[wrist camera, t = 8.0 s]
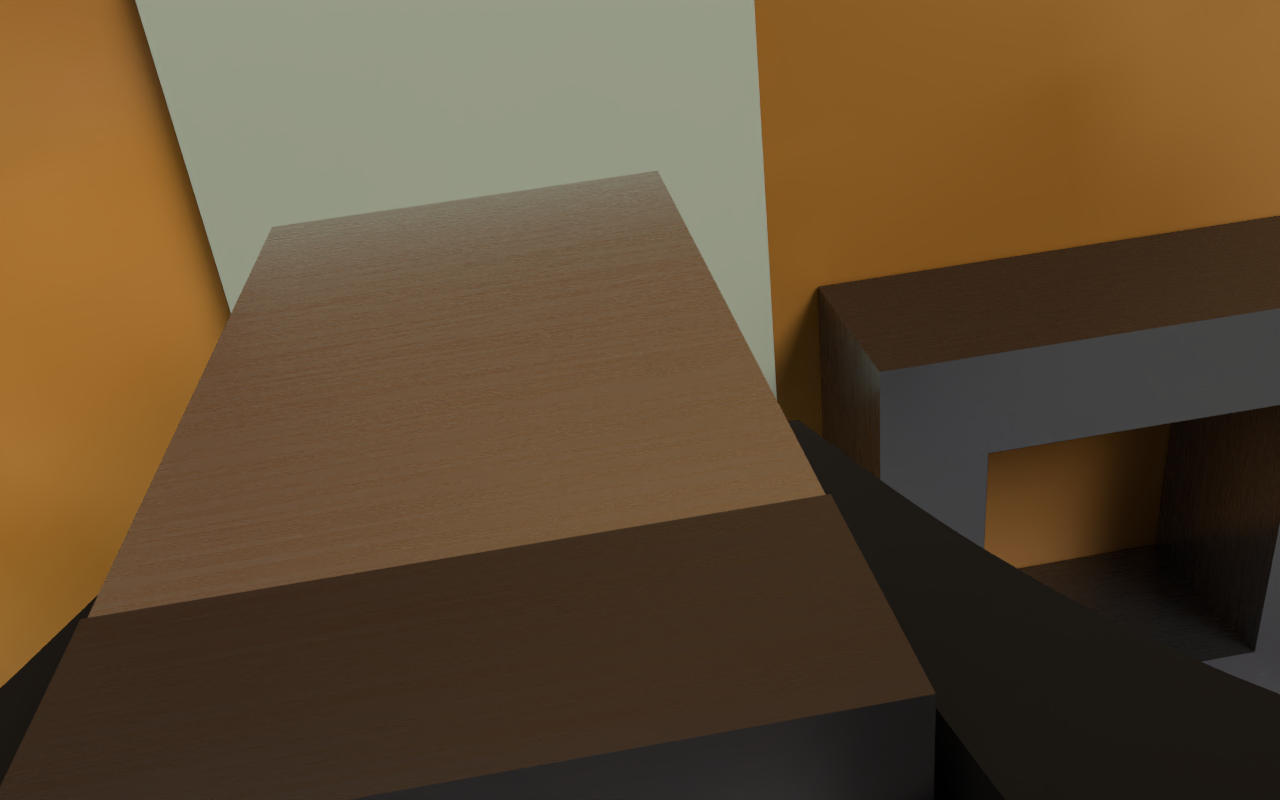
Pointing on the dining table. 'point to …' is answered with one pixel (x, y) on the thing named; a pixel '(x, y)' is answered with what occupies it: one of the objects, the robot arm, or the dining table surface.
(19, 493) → the dining table surface
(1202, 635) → the socket block
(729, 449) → the key peg
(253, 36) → the mat
